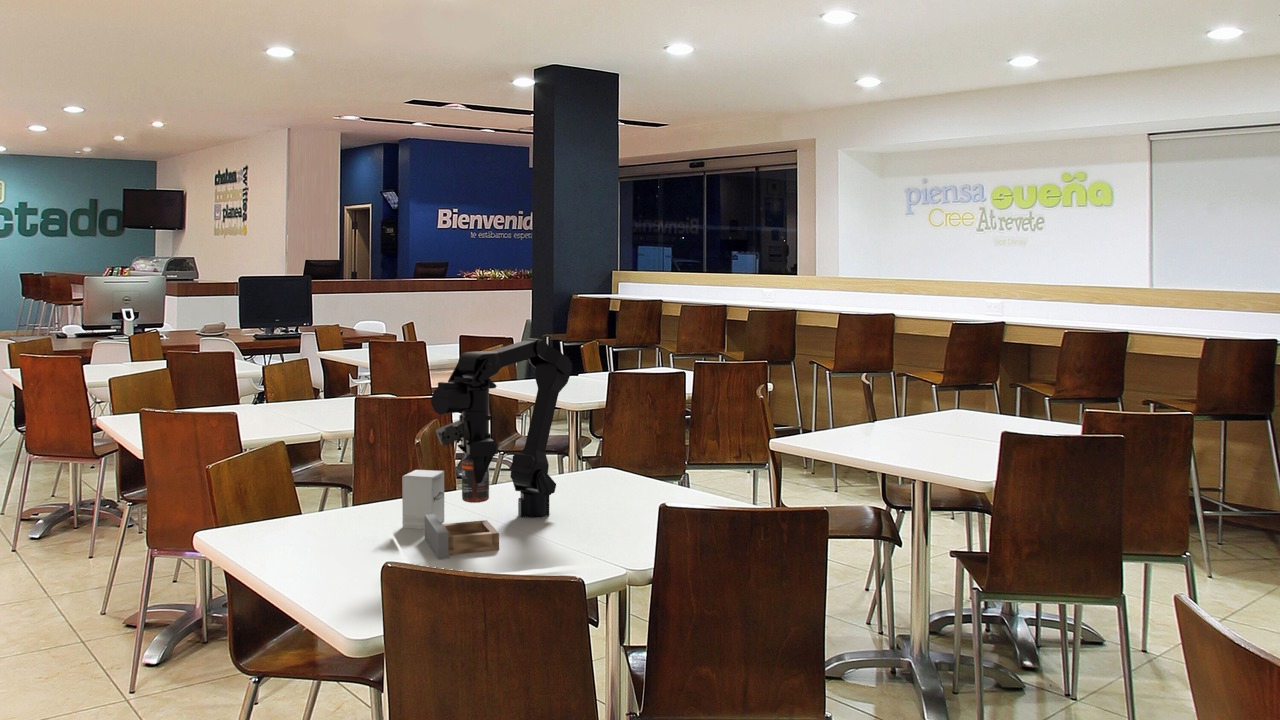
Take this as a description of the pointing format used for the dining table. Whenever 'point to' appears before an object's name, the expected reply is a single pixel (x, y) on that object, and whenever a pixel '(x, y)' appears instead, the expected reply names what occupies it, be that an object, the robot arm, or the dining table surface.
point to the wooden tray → (471, 537)
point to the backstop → (436, 536)
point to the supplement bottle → (473, 483)
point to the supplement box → (422, 497)
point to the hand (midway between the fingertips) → (475, 480)
